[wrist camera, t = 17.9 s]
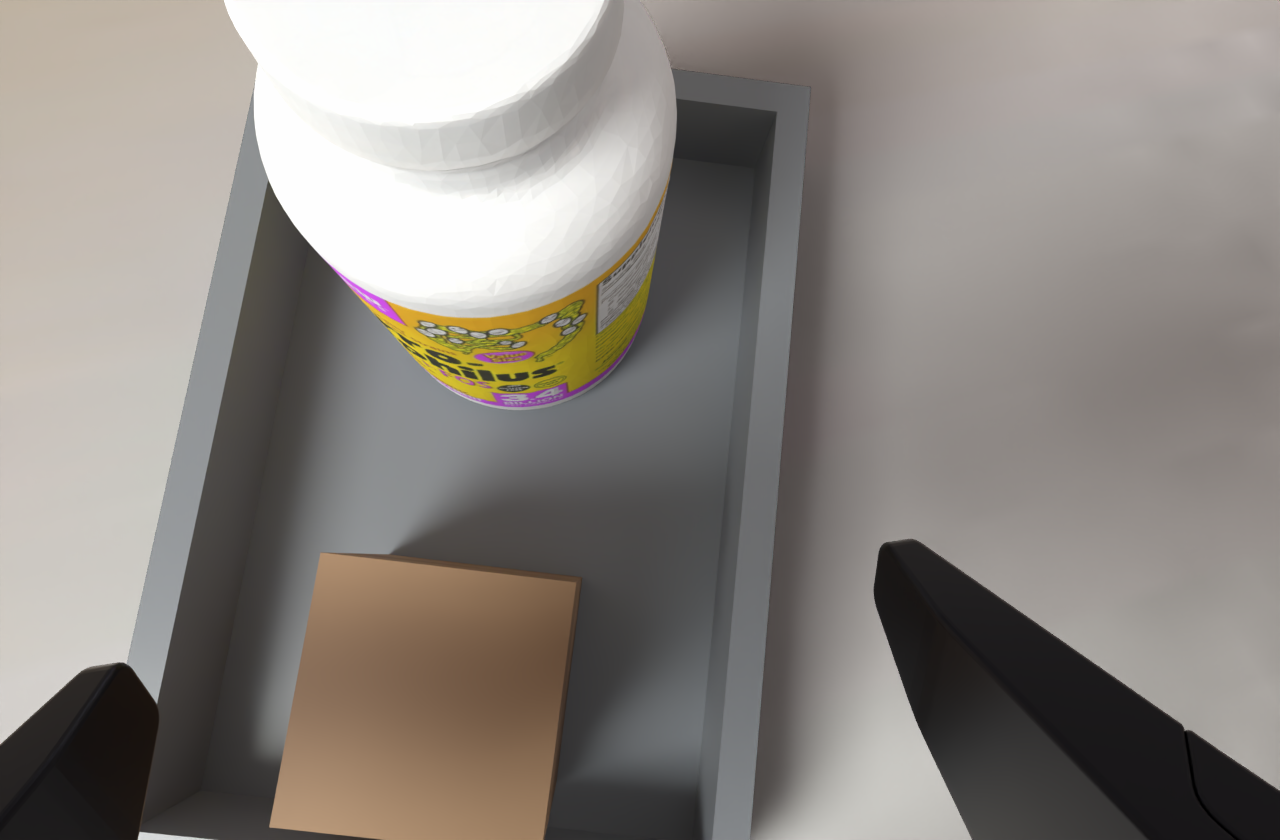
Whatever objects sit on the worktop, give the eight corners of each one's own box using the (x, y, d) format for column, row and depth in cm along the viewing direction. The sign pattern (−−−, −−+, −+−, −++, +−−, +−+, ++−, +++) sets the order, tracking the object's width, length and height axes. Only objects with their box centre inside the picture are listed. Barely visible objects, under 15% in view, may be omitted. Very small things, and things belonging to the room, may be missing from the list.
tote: (717, 871, 20) (741, 936, 16) (173, 814, 20) (81, 868, 16) (780, 156, 23) (811, 86, 20) (319, 97, 23) (269, 15, 20)
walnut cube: (556, 782, 20) (540, 856, 15) (353, 759, 19) (269, 827, 14) (582, 577, 20) (576, 582, 16) (388, 554, 20) (320, 552, 15)
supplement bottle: (355, 343, 21) (-12, 24, 9) (479, 145, 22) (316, -395, 10) (574, 461, 21) (528, 308, 8) (688, 253, 22) (801, -158, 9)
